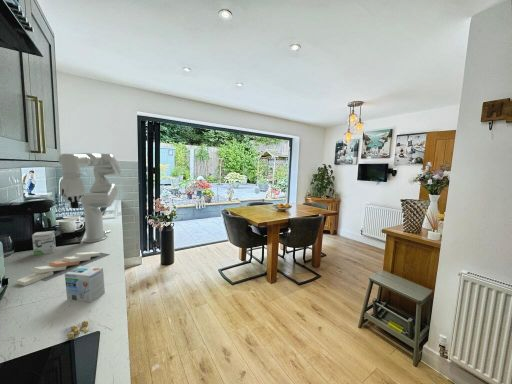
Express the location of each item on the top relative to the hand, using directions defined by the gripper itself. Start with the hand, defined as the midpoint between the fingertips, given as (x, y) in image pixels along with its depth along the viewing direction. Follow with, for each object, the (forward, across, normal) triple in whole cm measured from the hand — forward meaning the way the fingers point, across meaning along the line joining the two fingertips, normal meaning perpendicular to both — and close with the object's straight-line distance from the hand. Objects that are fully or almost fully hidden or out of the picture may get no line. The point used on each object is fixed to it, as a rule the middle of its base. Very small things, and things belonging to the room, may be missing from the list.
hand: (74, 208), depth 123 cm
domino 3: (+25, +7, +16) cm, 30 cm away
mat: (+26, +14, +16) cm, 33 cm away
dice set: (+26, +44, +64) cm, 82 cm away
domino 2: (+24, +18, +16) cm, 34 cm away
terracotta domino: (+24, +12, +16) cm, 32 cm away
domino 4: (+25, +2, +16) cm, 29 cm away
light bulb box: (+26, +30, +48) cm, 63 cm away
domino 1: (+24, +24, +16) cm, 37 cm away
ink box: (+26, +8, -16) cm, 32 cm away
